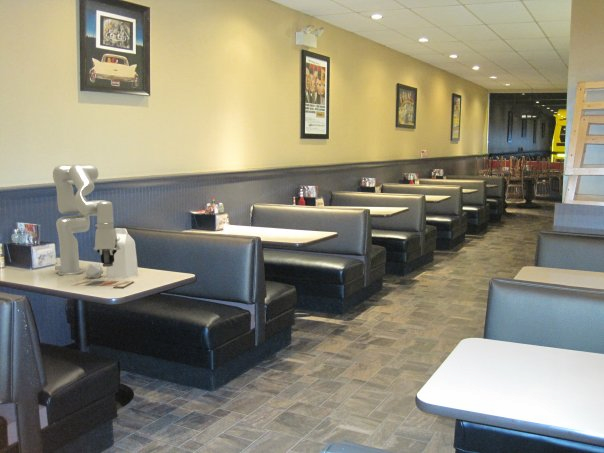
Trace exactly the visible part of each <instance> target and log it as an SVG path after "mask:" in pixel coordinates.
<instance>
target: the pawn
mask: <svg viewBox="0 0 604 453" xmlns="http://www.w3.org/2000/svg"><path fill="white" fill-rule="evenodd" d="M103 251H104V252H103V255H104V263H102V267H106V268H107V267H109V266H113V263H110V259H109V256H110V250H109V249H103Z"/></svg>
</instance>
